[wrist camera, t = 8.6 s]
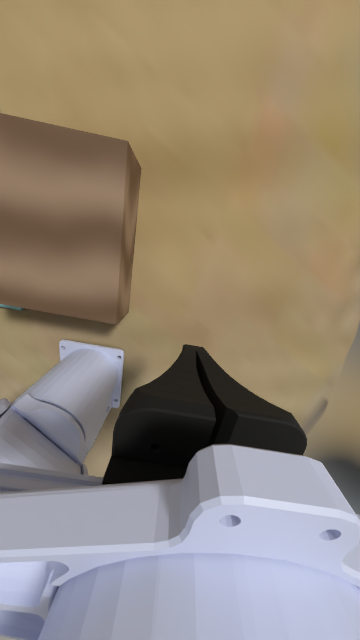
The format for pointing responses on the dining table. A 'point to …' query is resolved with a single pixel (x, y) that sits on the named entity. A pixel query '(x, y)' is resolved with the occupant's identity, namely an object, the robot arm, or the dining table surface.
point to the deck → (66, 220)
